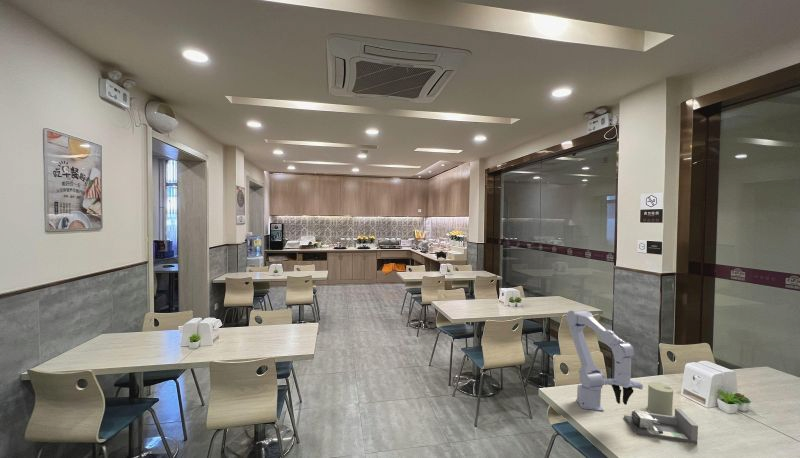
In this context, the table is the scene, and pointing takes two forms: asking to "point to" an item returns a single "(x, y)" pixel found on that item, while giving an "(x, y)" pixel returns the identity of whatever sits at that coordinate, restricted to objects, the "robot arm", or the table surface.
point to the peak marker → (659, 430)
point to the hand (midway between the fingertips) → (621, 402)
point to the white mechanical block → (644, 420)
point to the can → (660, 399)
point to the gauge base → (669, 427)
